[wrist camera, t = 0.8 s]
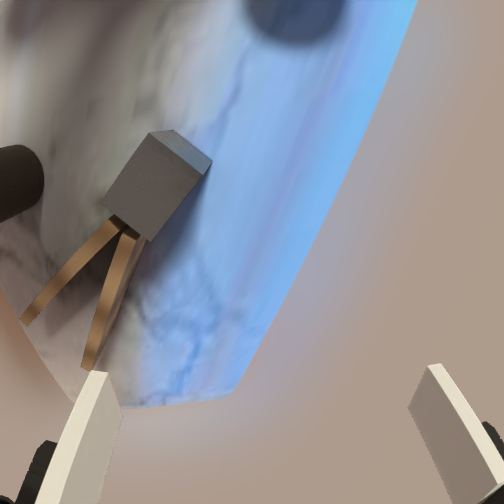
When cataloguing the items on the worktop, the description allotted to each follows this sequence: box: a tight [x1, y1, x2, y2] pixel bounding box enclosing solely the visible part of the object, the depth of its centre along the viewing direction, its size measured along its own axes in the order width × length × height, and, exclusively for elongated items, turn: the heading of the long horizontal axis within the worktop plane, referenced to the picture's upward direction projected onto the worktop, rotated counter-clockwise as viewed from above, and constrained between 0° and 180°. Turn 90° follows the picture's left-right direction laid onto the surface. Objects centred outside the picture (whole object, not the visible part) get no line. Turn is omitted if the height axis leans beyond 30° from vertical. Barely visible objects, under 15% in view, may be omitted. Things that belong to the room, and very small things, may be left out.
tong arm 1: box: [19, 214, 126, 327], centre depth 31 cm, size 18×1×8 cm, turn 127°
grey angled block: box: [101, 130, 212, 242], centre depth 28 cm, size 7×5×9 cm
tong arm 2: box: [81, 226, 147, 372], centre depth 32 cm, size 18×1×8 cm, turn 151°
